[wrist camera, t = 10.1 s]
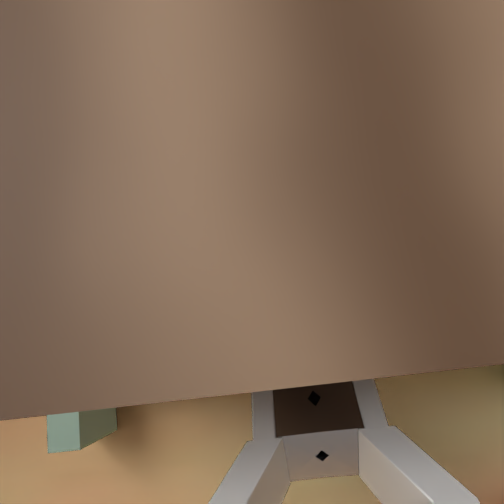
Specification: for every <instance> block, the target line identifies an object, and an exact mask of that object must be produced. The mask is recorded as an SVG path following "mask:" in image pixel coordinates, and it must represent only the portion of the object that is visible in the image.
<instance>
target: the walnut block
mask: <svg viewBox="0 0 504 504" xmlns="http://www.w3.org/2000/svg"><path fill="white" fill-rule="evenodd" d="M500 364H504V0H0V420H9V419H18V418H27V417H36V416H45V415H54V414H63V413H72V412H81V411H90V410H98V409H107V408H116V407H125V406H134V405H143V404H152V403H161V402H170V401H179V400H188V399H197V398H205V397H214V396H223V395H232V394H241V393H250V392H259V391H268V390H277V389H286V388H295V387H304V386H313V385H321V384H330V383H339V382H348V381H357V380H366V379H375V378H384V377H393V376H402V375H411V374H420V373H428V372H437V371H446V370H455V369H464V368H473V367H482V366H491V365H500Z"/></svg>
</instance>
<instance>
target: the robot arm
mask: <svg viewBox="0 0 504 504" xmlns="http://www.w3.org/2000/svg"><path fill="white" fill-rule="evenodd" d="M251 395H252V431H253V440H252V441H247V442H246V444H245V445H244V447H243V448H242V450H241V452H240V453H239V455H238V456H237V458H236V460H235V461H234V463H233V464H232V466H231V468H230V469H229V471H228V472H227V474H226V476H225V477H224V479H223V480H222V482H221V484H220V485H219V487H218V489H217V490H216V492H215V493H214V495H213V497H212V498H211V500H210V501H209V503H208V504H282V502H283V500H284V497H285V495H286V493H287V490H288V488H289V486H290V482H291V481H299V480H307V479H314V478H322V477H335V476H349V475H359V477H360V478H361V479H362V481H363V482H364V483H365V484H366V485H367V487H368V488H369V489H370V490H371V491H372V493H373V494H374V495H375V496H376V497H377V499H378V500H379V501H380V502H381V503H382V504H480V502H479V500H478V498H477V497H476V496H474V495H473V494H472V493H471V492H470V491H469V490H468V489H466V488H465V487H464V486H463V485H462V484H461V483H460V482H459V481H457V480H456V479H455V478H454V477H453V476H452V475H451V474H449V473H448V472H447V471H446V470H445V469H444V468H443V467H441V466H440V465H439V464H438V463H437V462H436V461H435V460H433V459H432V458H431V457H430V456H429V455H428V454H427V453H425V452H424V451H423V450H422V449H421V448H420V447H419V446H418V445H416V444H415V443H414V442H413V441H412V440H411V439H410V438H408V437H407V436H406V435H405V434H404V433H403V432H402V431H400V430H399V429H398V428H397V427H396V426H389V425H388V422H387V419H386V416H385V413H384V410H383V407H382V403H381V400H380V397H379V394H378V391H377V388H376V384H375V381H374V379H366V380H357V381H348V382H339V383H330V384H321V385H313V386H304V387H295V388H286V389H277V390H268V391H259V392H251Z"/></svg>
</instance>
